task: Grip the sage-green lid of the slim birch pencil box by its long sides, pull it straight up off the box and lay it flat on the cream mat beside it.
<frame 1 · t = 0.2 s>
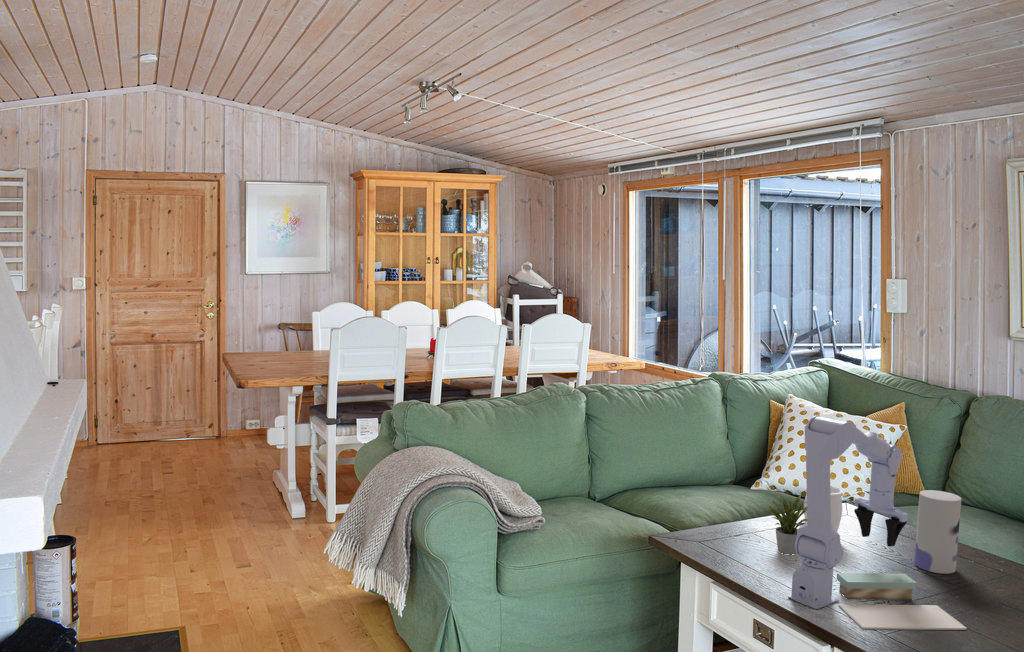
hand: (878, 540, 213), 10 cm above the table, tool pointing down, fingers open, 7 cm apart
container: (934, 567, 223), on the table
pencil box: (875, 595, 203), on the table
mat: (900, 617, 191), on the table
white vase: (820, 539, 243), on the table
lid: (875, 584, 203), point 3 cm above the table, touching pencil box
house plant: (791, 552, 232), on the table
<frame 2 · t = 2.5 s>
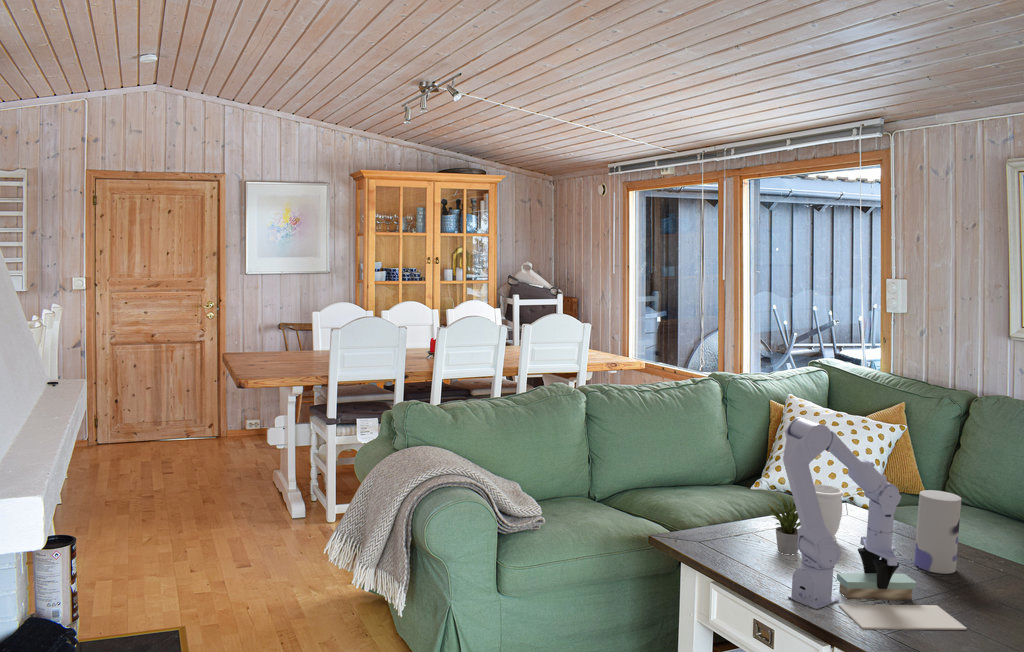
hand: (876, 583, 202), 3 cm above the table, tool pointing down, fingers closed on lid, 6 cm apart
lid: (875, 584, 203), point 3 cm above the table, touching gripper, pencil box
everything else where it was.
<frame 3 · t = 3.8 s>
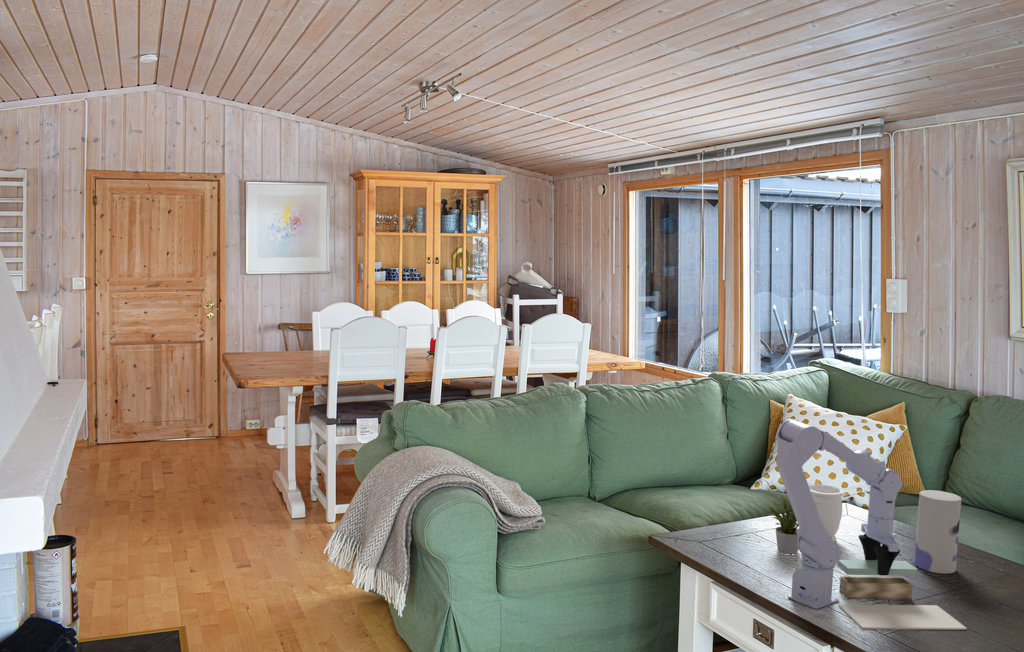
hand: (876, 569, 202), 7 cm above the table, tool pointing down, fingers closed on lid, 6 cm apart
lid: (876, 570, 202), point 6 cm above the table, touching gripper
everything else where it was.
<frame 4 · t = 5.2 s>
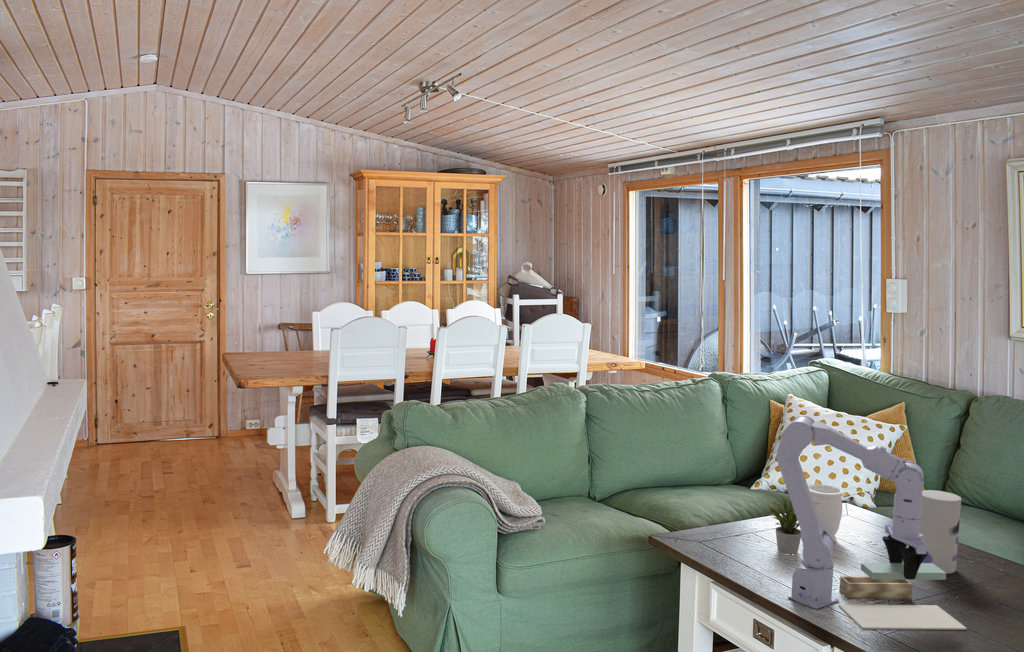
hand: (902, 573, 191), 10 cm above the table, tool pointing down, fingers closed on lid, 6 cm apart
lid: (902, 574, 191), point 10 cm above the table, touching gripper
everything else where it was.
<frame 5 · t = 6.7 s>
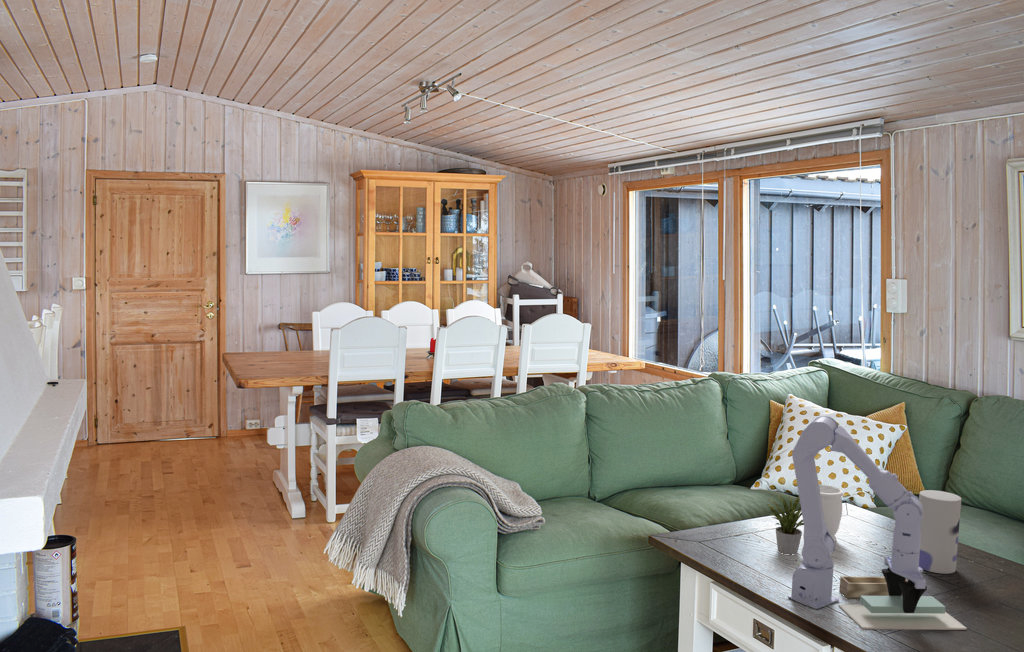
hand: (901, 606, 191), 3 cm above the table, tool pointing down, fingers closed on lid, 6 cm apart
lid: (901, 607, 191), point 2 cm above the table, touching gripper
everything else where it was.
when the fingers open (2 cm above the table, at t = 7.8 s): lid drops 2 cm, resting on mat.
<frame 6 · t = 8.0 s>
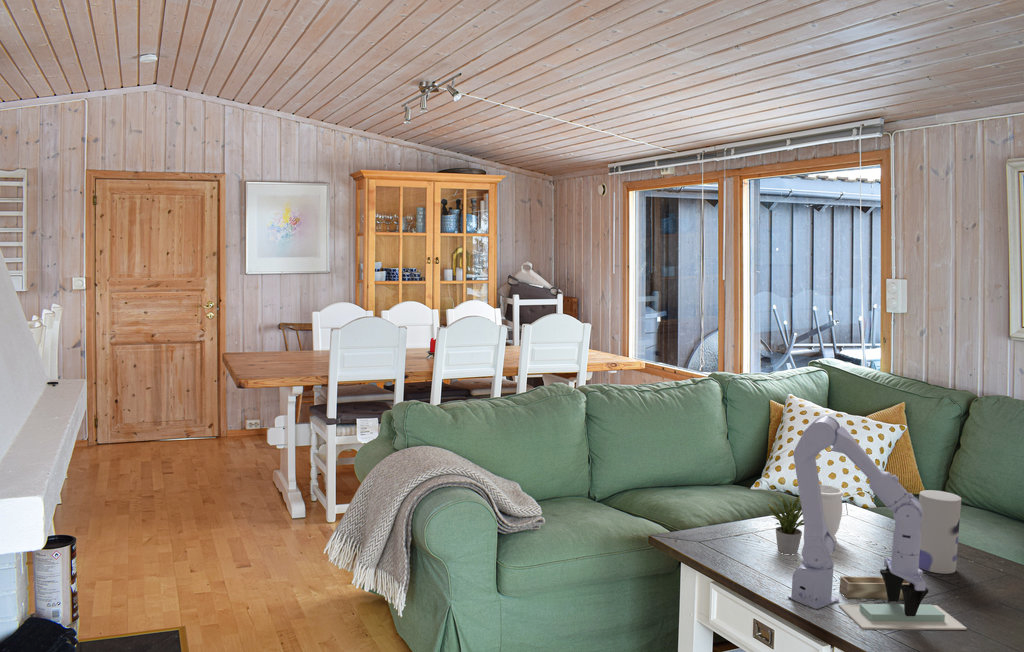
hand: (901, 608, 191), 2 cm above the table, tool pointing down, fingers open, 7 cm apart
lid: (901, 616, 191), resting on mat
everything else where it was.
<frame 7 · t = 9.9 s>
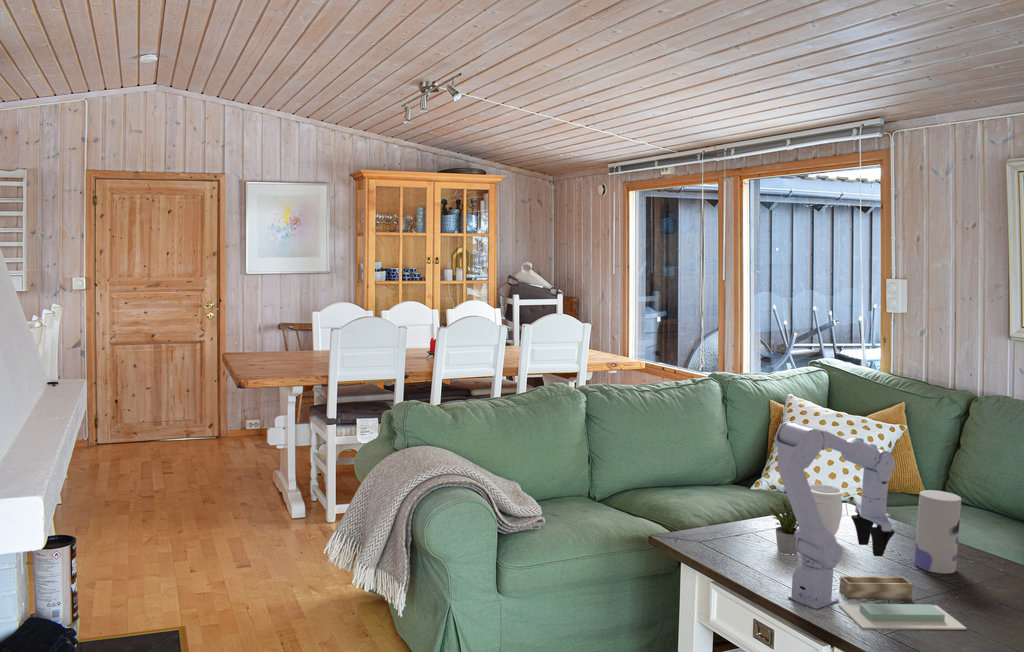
hand: (870, 550, 205), 10 cm above the table, tool pointing down, fingers open, 7 cm apart
nothing on the table moved.
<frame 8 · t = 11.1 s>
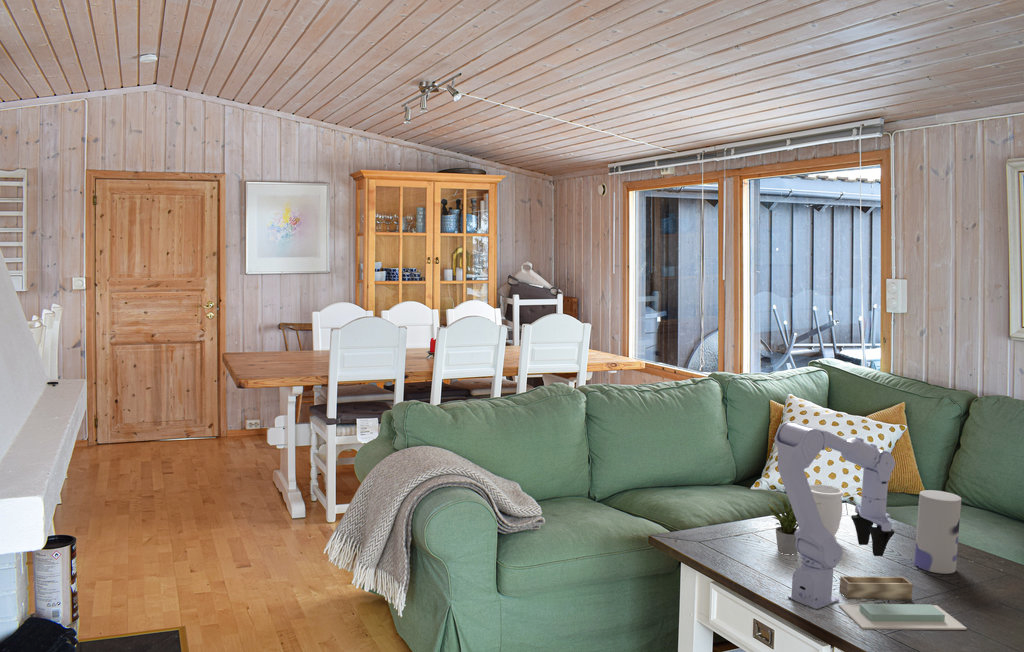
hand: (870, 550, 205), 10 cm above the table, tool pointing down, fingers open, 7 cm apart
nothing on the table moved.
at the end: lid inside the target area on the mat (0.1 cm from its centre), point 0.4 cm above the mat's base; lid tilted 0°; the gripper is holding nothing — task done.
